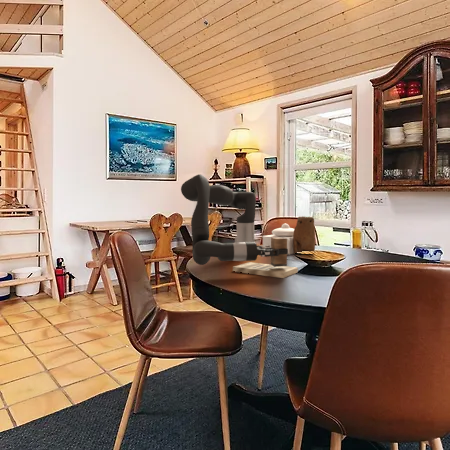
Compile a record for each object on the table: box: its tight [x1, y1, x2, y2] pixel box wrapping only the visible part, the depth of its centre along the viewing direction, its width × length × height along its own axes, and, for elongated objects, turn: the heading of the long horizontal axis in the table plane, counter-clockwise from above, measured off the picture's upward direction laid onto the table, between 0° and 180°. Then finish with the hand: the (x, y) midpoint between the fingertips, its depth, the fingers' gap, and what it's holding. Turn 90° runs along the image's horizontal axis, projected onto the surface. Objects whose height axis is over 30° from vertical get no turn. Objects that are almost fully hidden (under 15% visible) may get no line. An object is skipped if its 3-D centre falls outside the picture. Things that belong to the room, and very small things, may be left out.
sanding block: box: [270, 237, 288, 267], centre depth 154 cm, size 5×5×11 cm
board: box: [232, 261, 299, 279], centre depth 158 cm, size 23×13×2 cm, turn 55°
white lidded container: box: [261, 223, 295, 256], centre depth 216 cm, size 18×18×16 cm
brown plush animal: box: [293, 216, 316, 254], centre depth 204 cm, size 11×8×20 cm
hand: (285, 250), depth 154 cm, fingers closed on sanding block, 5 cm apart
